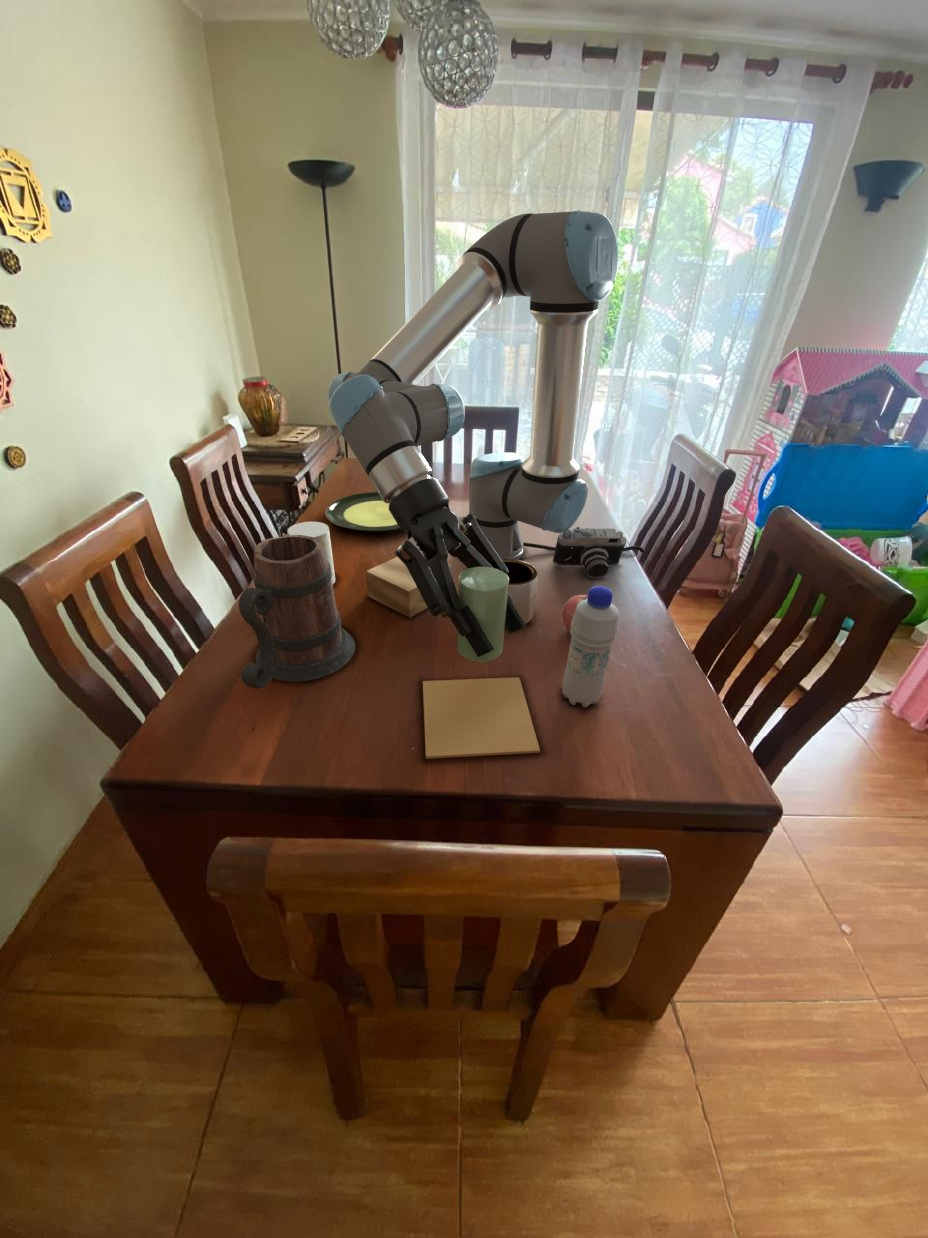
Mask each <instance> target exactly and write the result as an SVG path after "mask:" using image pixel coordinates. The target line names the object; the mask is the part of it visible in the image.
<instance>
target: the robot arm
mask: <svg viewBox="0 0 928 1238" xmlns="http://www.w3.org/2000/svg"><path fill="white" fill-rule="evenodd" d="M611 222H612V221H610V219H609V218H608V217H607V215H605V214H604V213H602V212H598V211H587V210H580V209H578V210H573V211H571V210H570V211H558V212H541V213H540V212H539V213H522V214H518V215H515V216H512V217H510V218H508V219H506V220H504V221H502V222H500V223H499V224H497V225H495V226H494V227H493V228H492V229H490V230H489V231H487V232H486V233H485V234H484V235H482V236H481V237H480V238H478V240H476V241H475V242H474V243H473V244H471V246H470V247H468V249H467V250H466V251H465V252H464V253H463V254H462V255H461V256H459V259H457V262H456V265H455V271H454V273H453V274H452V275H451V276H449V278H448V279H447V280H446V281H445V282H443V284H442V285H441V286H440V287H439V288H438V289H437V290H436V291H435V292H434V293H433V294H432V296H431V297H430V298H429V299H428V300H426V302H425V303H424V304H423V305H422V306H421V307H420V308H419V309H418V310H417V311H416V312H415V313H414V314H413V315H412V316H411V317H410V318H409V320H407V321H406V322H405V324H403V326H402V327H401V328H400V329H399V330H398V331H397V332H395V334H394V335H393V336H392V337H391V338H390V339H388V340H387V342H386V343H385V344H384V345H383V346H382V347H381V348H380V349H379V350H378V351H377V352H376V354H374V356H373V357H372V358H370V359H369V360H368V362H367V363H366V364H365V365H364V366H362V368H361V369H359V370H358V371H357V372H355V371H348V372H342V373H339V374H336V376H334V378H333V379H332V380H331V382H330V384H329V386H328V390H327V391H328V392H327V401H328V411H329V413H330V416H331V417H332V419H333V421H334V424H335V425H336V427H337V429H338V430H339V433H340V436H342V438H343V439H344V440H345V442H346V444H347V445H348V447H349V448H350V450H351V451H352V453H353V455H354V456H355V457H356V460H357V461H358V462H359V463H360V465H361V467H362V469H363V470H364V472H365V473H366V475H367V477H368V478H369V480H370V482H371V483H372V485H373V486H374V488H375V490H376V492H378V493H379V495H380V496H381V498H382V500H383V501H384V502H385V503H388V504H389V511H390V513H391V514H392V516H393V518H394V519H395V521H396V523H397V524H398V526H399V527H400V529H399V530H401V531H404V532H405V533H406V539H407V540H405V541H404V542H403V543H402V544H400V545H399V547H397V548H396V549H395V551H394V554H395V557H398V558H399V559H400V560H401V561H402V562H403V563H404V564H405V565H406V567H407V569H408V571H409V572H410V574H411V576H412V578H413V580H414V582H415V584H416V586H417V588H418V590H419V592H420V594H421V595H422V597H423V599H424V601H425V603H426V605H427V607H428V608H427V610H428V611H429V613H430V615H431V616H432V617H433V618H437V617H442V618H444V619H446V618H449V619H450V621H451V623H452V624H453V626H454V628H455V629H456V632H457V631H458V632H459V634H460V635H461V636H462V637H463V636H465V637H466V639H467V640H468V642H469V643H470V645H471V647H472V648H473V650H474V652H475V653H476V655H477V656H478V657H480V656H482V655H485V654H487V653H489V652H491V651H492V650H494V648H493V646H492V644H491V643H490V641H489V639H488V638H487V636H486V634H485V633H484V631H483V630H482V628H481V626H480V625H479V623H478V621H477V620H476V618H475V617H474V615H473V613H472V612H471V610H470V608H469V607H468V605H466V606H465V607H463V608H462V609H461V603H460V599H459V596H458V590H457V586H456V584H455V580H454V577H453V574H452V570H451V568H450V567H451V566H450V564H449V561H448V558H449V555H450V556H451V557H452V558H456V559H457V560H458V561H460V562H461V564H463V566H465V568H466V569H469V568H473V567H491V568H495V569H498V570H501V571H502V572H504V573H505V574H506V575H507V574H508V572H509V571H508V569H507V567H506V566H505V564H504V563H503V561H502V560H501V559H515V560H520V559H521V558H522V557H523V555H524V547H527V548H535V549H542V550H547V551H551V552H552V551H553V552H555V548H556V546H550V545H545V544H540V543H532V542H527V541H526V542H524V540H523V537H522V532H521V529H520V525H519V522H520V523H522V524H527V525H529V526H532V527H536V528H538V529H540V530H542V531H546V532H547V531H548V532H552V533H554V534H555V533H556V534H560V533H563V532H565V531H567V530H570V529H571V528H572V527H573V526H574V524H575V523H576V522H577V521H578V519H579V517H580V516H581V515H582V512H583V510H584V508H585V506H586V503H587V499H588V494H589V487H588V484H587V482H585V481H584V480H583V479H582V478H579V473H580V465H579V463H578V462H577V461H576V460H575V459H574V450H575V442H576V441H575V440H576V431H577V423H578V422H577V421H578V414H579V406H580V405H579V404H580V395H581V388H582V387H581V386H582V377H583V367H584V359H585V349H586V340H587V339H586V338H587V332H588V330H587V329H588V323H589V322H590V320H591V319H592V318H593V317H594V316H595V315H596V314H597V313H598V311H599V306H600V305H599V303H600V301H603V300H604V299H606V298H607V297H609V295H610V293H611V291H612V290H613V287H614V285H613V283H615V281H616V279H617V275H618V274H617V272H618V268H619V267H618V266H619V248H618V246H619V245H618V240H617V239H618V238H617V235H616V232H615V229H614V227H613V224H612V223H611ZM513 297H530V298H529V312H530V314H531V315H532V317H534V319H535V320H536V322H537V327H536V347H535V361H534V376H533V377H534V378H533V379H534V380H533V394H532V395H533V396H532V412H531V431H530V447H529V456H528V457H527V458H526V459H525V458H524V455H522V454H521V453H515V452H492V453H486V454H482V455H479V456H477V457H475V458H474V459H473V460H472V462H471V466H470V473H469V477H468V478H469V493H468V494H469V496H468V497H469V498H468V499H469V500H468V514H467V515H465V516H458V515H456V513H454V512H453V511H452V510H451V508H450V506H449V505H450V498H449V496H448V494H447V493H446V491H445V489H444V488H443V486H442V485H441V483H440V481H439V479H438V478H435V477H433V475H434V471H433V469H432V468H431V466H430V465H429V462H427V460H426V458H425V457H424V455H423V453H422V452H421V451H420V449H419V447H421V446H424V445H428V444H432V443H435V442H443V441H444V440H446V439H448V438H450V437H453V436H455V435H457V434H458V433H459V432H460V430H461V429H462V427H463V425H464V422H465V420H466V419H465V416H466V408H465V403H464V400H463V398H462V396H461V394H460V392H459V391H458V390H457V389H456V388H455V387H453V386H452V385H450V384H447V383H439V384H437V383H431V384H429V385H418V384H419V383H420V381H422V379H423V378H424V377H425V376H426V375H427V374H428V373H429V372H430V371H431V370H432V368H433V367H434V366H435V365H437V364H438V362H439V361H440V360H441V359H442V358H443V356H445V354H446V353H447V352H448V351H449V350H450V349H451V348H452V347H453V346H454V345H455V343H457V341H458V340H459V339H460V338H461V337H462V336H463V335H464V333H465V332H467V331H468V329H470V327H471V326H472V325H473V324H474V323H475V322H476V321H477V319H479V317H480V316H482V314H483V313H484V312H485V311H491V310H494V309H496V308H497V307H498V306H499V305H500V304H501V302H502V301H504V300H506V299H509V298H513ZM633 550H638V551H639V552H641V553H646V550H645V548H643V547H642V546H640V545H629V546H624V549H623V552H622V553H624V552H629V551H633ZM421 552H422V553H421ZM424 558H425V559H424ZM513 603H514V602H513V599H512V597H511V596H510V594H509V592H508V598H507V610H506V621H505V626H506V627H505V629H506V630H507V631H508V633H509V634H510V635H511V634H513V633H515V632H517V631H519V630H521V629H524V628H525V627H526V626H527V623H526V624H525V623H524V621H523V620H522V618H521V616H520V615H519V613H518V611H517V610H516V608H515V607H514V605H513Z"/></svg>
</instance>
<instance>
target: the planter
mask: <svg viewBox="0 0 928 1238" xmlns="http://www.w3.org/2000/svg"><path fill="white" fill-rule="evenodd" d="M501 560H502V561H503V563H504V564H505V566H506V567H507V569H508V571H509V572H508V574H507V576H508V578H509V587H508V592H509V594H510V596H511V597H512V599H513V602H514V603H513V605H514V607H515V608H516V610H517V611H518V613H519V615H520V616H521V618H522V620H523V621H524V623H525V624H526V625H527V623H529V622H530V621H531V620H532V619H533V618H534V614H535V608H536V607H535V606H536V595H537V587H538V578H539V573H538V572H539V571H538V570H537V568H536V567H535V566H533V565H532V564H530V563H529V562H526V561H525V560H524V561H523V560H520V559H519V560H515V559H501ZM505 628H506V626H505Z"/></svg>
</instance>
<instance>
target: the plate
mask: <svg viewBox="0 0 928 1238" xmlns="http://www.w3.org/2000/svg"><path fill="white" fill-rule="evenodd" d="M325 517H326V518H327V520H328V521H329V522H330V523H331V524H333V525H334V526H336V527H338V528H339V527H340V528H344V529H348V530H352V531H357V532H365V533H366V532H367V533H384V532H385V533H386V532H392V531H398V530H399V531H400V530H401V529H400V527H399V526H398V524H397V523H396V521H395V519H394V518H393V516H392V514H391V513H390V511H389V504H388V503H385V502H384V501H383V500H382V498H381V496H380V495H379V493H378V491H370V492H369V491H368V492H360V493H355V494H351V495H347V496H344V497H341V498H339V499H337V500H335V501H333V502H331V503H330V504H329V505H328V507H327V508H326V510H325Z"/></svg>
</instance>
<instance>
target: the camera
mask: <svg viewBox="0 0 928 1238" xmlns="http://www.w3.org/2000/svg"><path fill="white" fill-rule="evenodd" d="M623 535H624V532H623V531H621V530H618V531H617V530H616V528H588V527H585V528H581V527H580V526H576V527H574V528H572V530H570V529H568V530H567V531H565V532H562V533H558V536H557V538H556V543H555V547H556V548H555V551H554V553H553V558H552V563H553V564H554V565H555V566H557V567H584V571H585V572H586V574H587V576H588V577H589V578H591V579H593V580H595V579H596V580H597V579H601V578H603V577H605V576H607V575H608V573H609V571H610V568H609V567H616V566H618V565H619V563H620V561H621V557H622V555H623V553H624V552H623V549H624V548H625V547H626V544H627V541H628V540H627V538H626V537H625V536H623Z"/></svg>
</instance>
